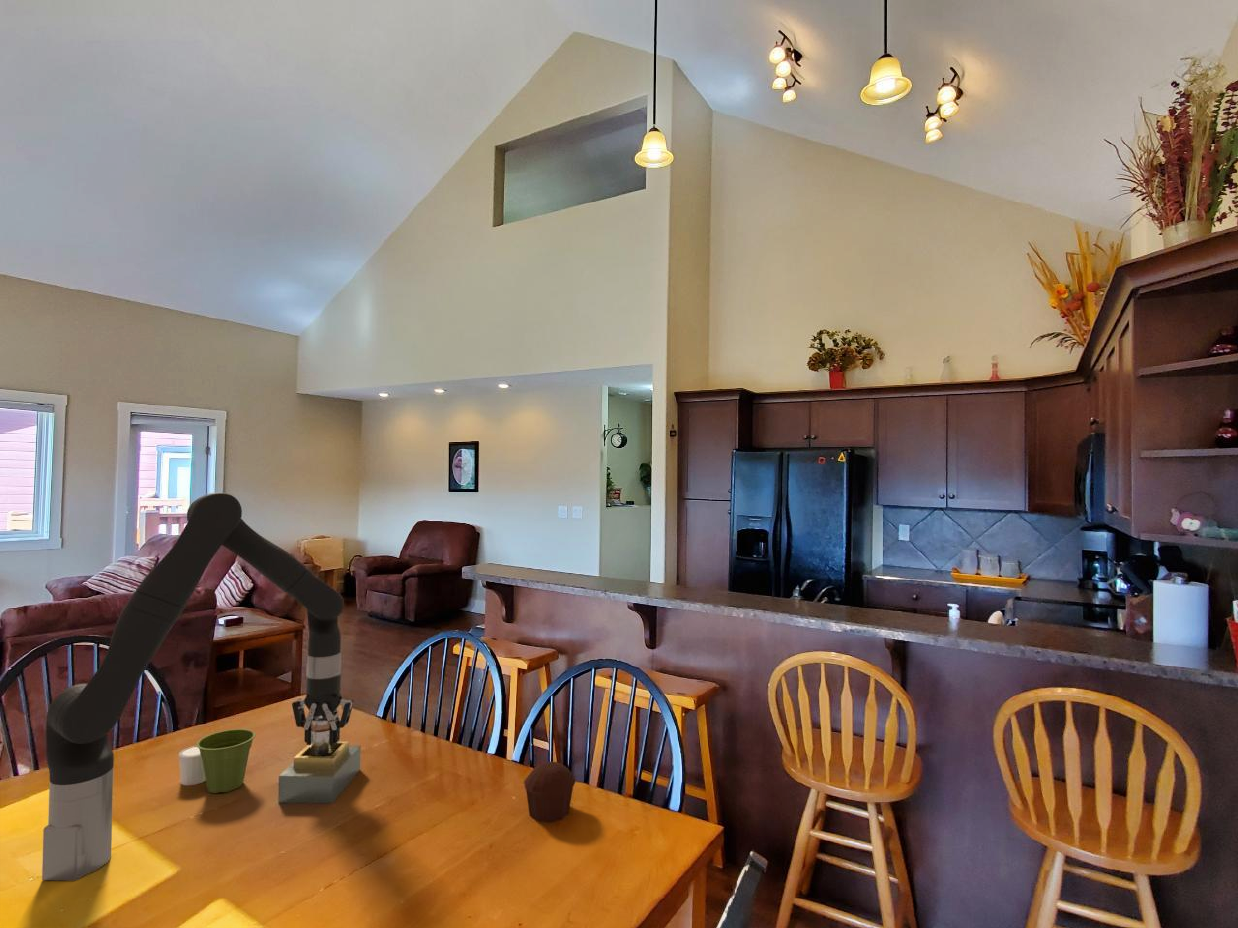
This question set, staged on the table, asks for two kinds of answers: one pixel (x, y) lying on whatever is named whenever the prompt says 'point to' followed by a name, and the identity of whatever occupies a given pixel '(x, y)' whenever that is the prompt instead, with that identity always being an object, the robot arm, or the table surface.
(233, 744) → the plant pot
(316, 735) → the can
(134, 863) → the table surface
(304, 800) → the grey block with socket
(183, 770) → the white cylinder
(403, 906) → the table surface
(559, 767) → the muffin
